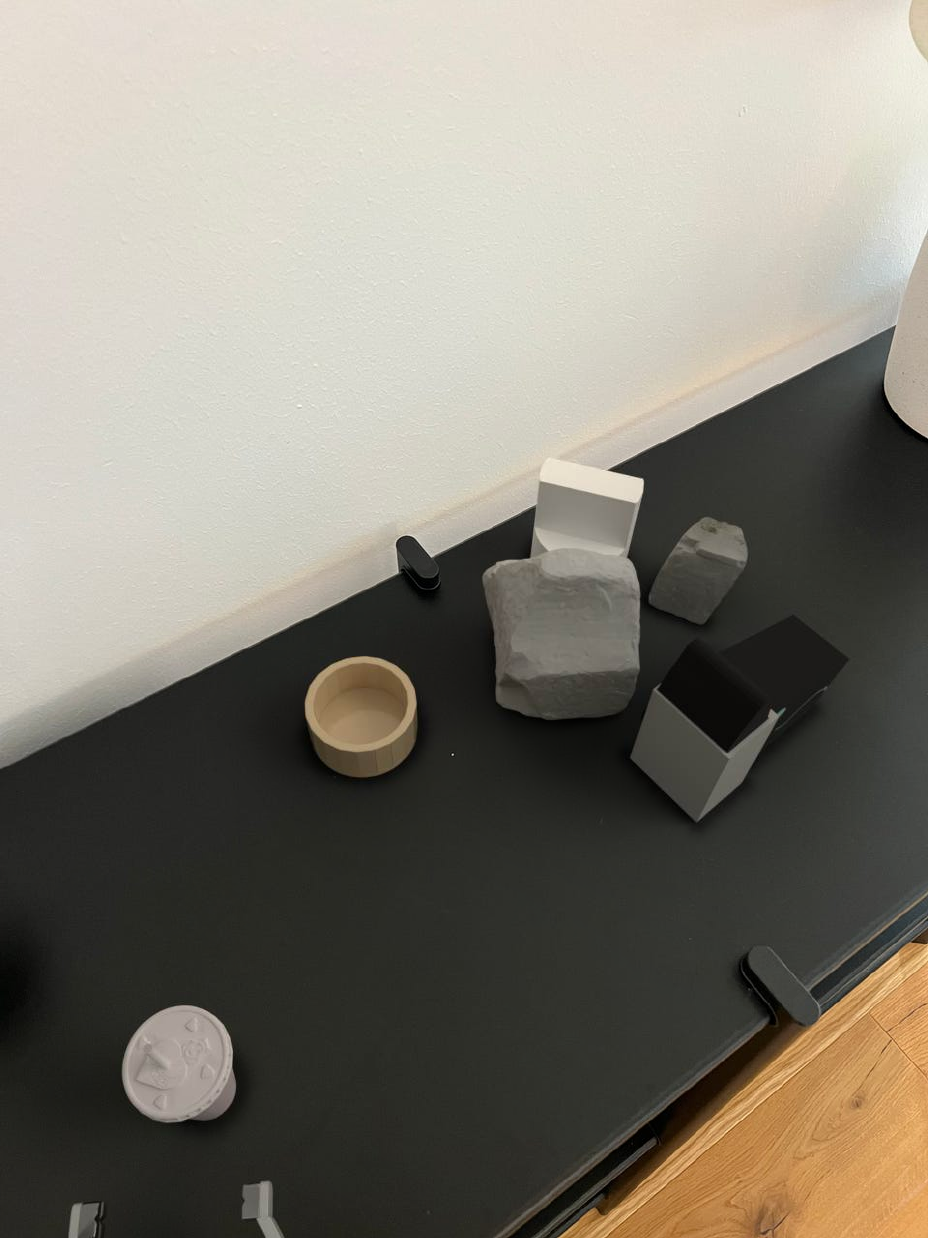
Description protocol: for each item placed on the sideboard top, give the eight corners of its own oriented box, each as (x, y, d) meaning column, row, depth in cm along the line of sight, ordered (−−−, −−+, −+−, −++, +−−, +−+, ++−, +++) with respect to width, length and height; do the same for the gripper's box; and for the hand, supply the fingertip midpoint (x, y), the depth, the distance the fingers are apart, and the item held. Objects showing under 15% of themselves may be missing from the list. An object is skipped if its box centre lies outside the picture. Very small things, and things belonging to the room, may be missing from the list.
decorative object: (835, 700, 83) (902, 596, 71) (696, 822, 76) (744, 731, 64) (763, 640, 87) (815, 532, 75) (624, 752, 80) (656, 653, 68)
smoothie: (148, 1068, 65) (85, 1017, 54) (237, 1022, 67) (195, 964, 56) (176, 1163, 62) (116, 1130, 50) (269, 1113, 64) (231, 1071, 52)
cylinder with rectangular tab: (518, 591, 90) (527, 504, 80) (542, 523, 95) (553, 434, 85) (612, 614, 88) (632, 529, 79) (631, 544, 93) (652, 456, 84)
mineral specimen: (741, 631, 87) (744, 575, 80) (647, 619, 90) (642, 564, 83) (752, 569, 91) (756, 511, 84) (661, 560, 94) (658, 503, 87)
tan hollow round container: (298, 768, 79) (291, 742, 75) (326, 677, 84) (321, 649, 80) (405, 785, 78) (403, 760, 74) (426, 693, 83) (425, 665, 79)
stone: (494, 734, 81) (503, 632, 69) (479, 617, 88) (485, 506, 76) (628, 723, 82) (661, 621, 69) (603, 609, 89) (628, 498, 77)
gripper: (363, 1501, 45) (352, 1164, 53) (-90, 1567, 43) (-30, 1210, 51) (371, 1481, 50) (360, 1177, 58) (-34, 1539, 48) (13, 1218, 56)
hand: (174, 1192), depth 54 cm, fingers open, 8 cm apart
